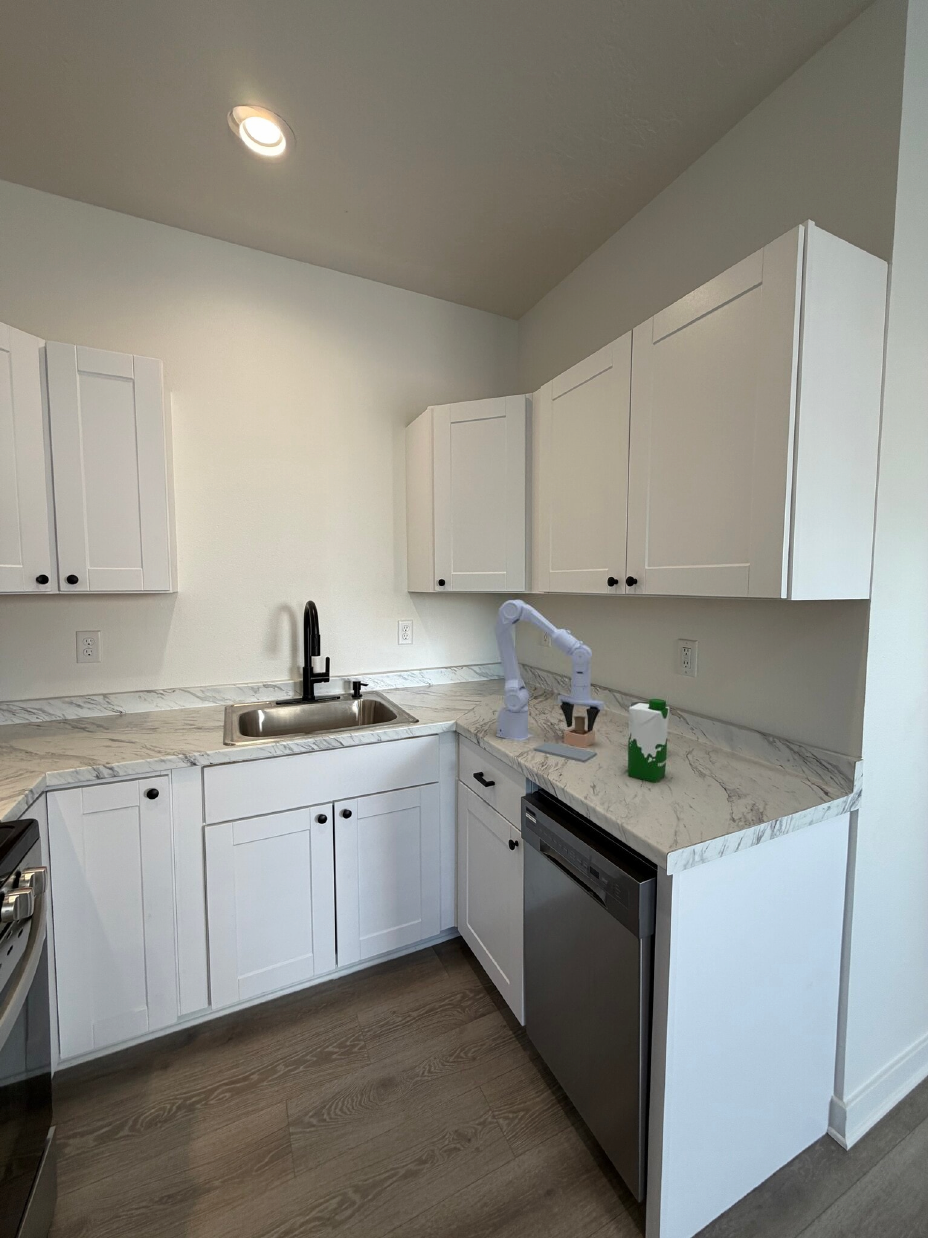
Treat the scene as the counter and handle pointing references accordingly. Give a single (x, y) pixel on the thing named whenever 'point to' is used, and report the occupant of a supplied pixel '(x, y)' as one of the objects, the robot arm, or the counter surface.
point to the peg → (580, 725)
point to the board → (565, 752)
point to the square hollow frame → (579, 738)
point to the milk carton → (648, 740)
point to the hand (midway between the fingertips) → (579, 728)
